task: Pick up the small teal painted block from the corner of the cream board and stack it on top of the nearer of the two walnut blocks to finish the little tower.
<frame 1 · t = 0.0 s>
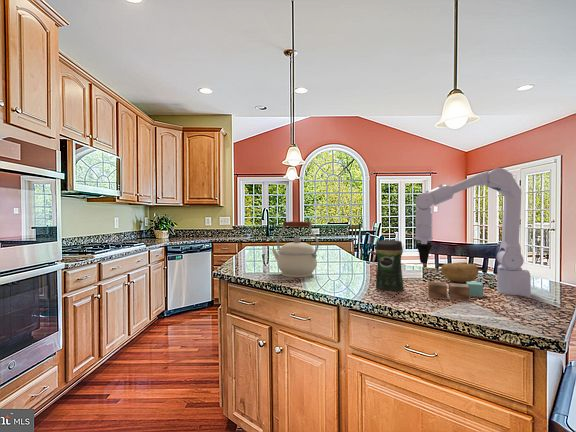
hand: (423, 261, 131), 10 cm above the worktop, tool pointing down, fingers open, 7 cm apart
teal block: (474, 294, 118), point 1 cm above the worktop, touching build board
near walnut block: (458, 297, 114), point 1 cm above the worktop, touching build board
build board: (454, 298, 116), on the worktop
potato: (459, 282, 143), on the worktop
kettle: (294, 275, 161), on the worktop
far walnut block: (437, 295, 116), point 1 cm above the worktop, touching build board
coffee jar: (389, 290, 128), on the worktop
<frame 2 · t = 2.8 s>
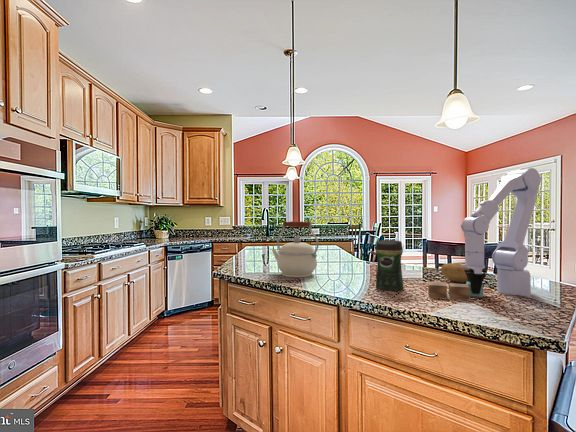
hand: (474, 291, 118), 2 cm above the worktop, tool pointing down, fingers closed on teal block, 4 cm apart
teal block: (474, 294, 118), point 1 cm above the worktop, touching build board, gripper
everything else where it was.
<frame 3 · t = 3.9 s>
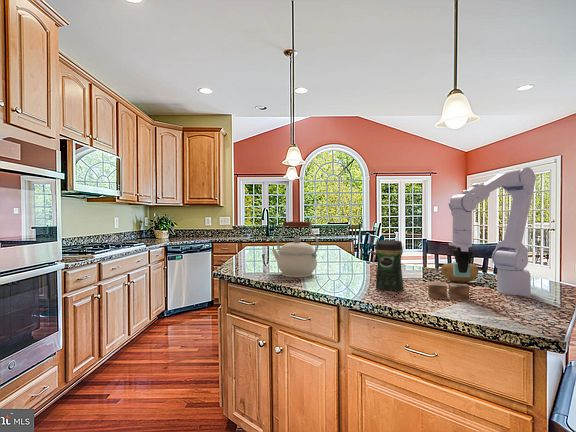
hand: (461, 271, 115), 9 cm above the worktop, tool pointing down, fingers closed on teal block, 4 cm apart
teal block: (461, 275, 115), point 8 cm above the worktop, touching gripper
everything else where it was.
when the fingers open (7 cm above the worktop, at t = 5.2 s): teal block stays where it is, resting on near walnut block.
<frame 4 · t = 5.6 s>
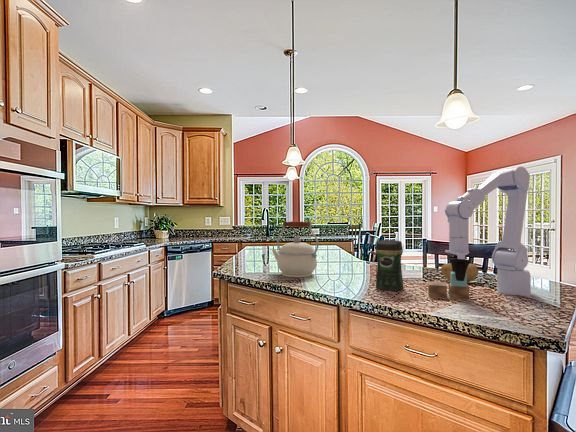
hand: (458, 278, 114), 7 cm above the worktop, tool pointing down, fingers open, 7 cm apart
teal block: (458, 285, 114), point 5 cm above the worktop, touching near walnut block
near walnut block: (458, 297, 114), point 1 cm above the worktop, touching build board, teal block
everything else where it was.
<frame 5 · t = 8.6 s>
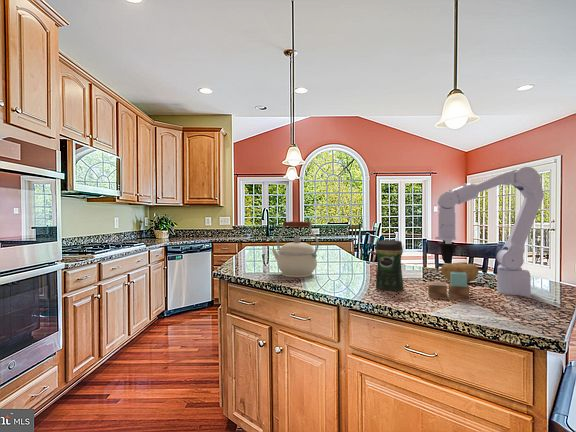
hand: (446, 262, 128), 10 cm above the worktop, tool pointing down, fingers open, 7 cm apart
nothing on the worktop moved.
at the end: teal block 0.1 cm off-centre on the near walnut block, point 4.0 cm above the near walnut block's base; teal block tilted 0°; far walnut block moved 0.1 cm from its start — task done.
